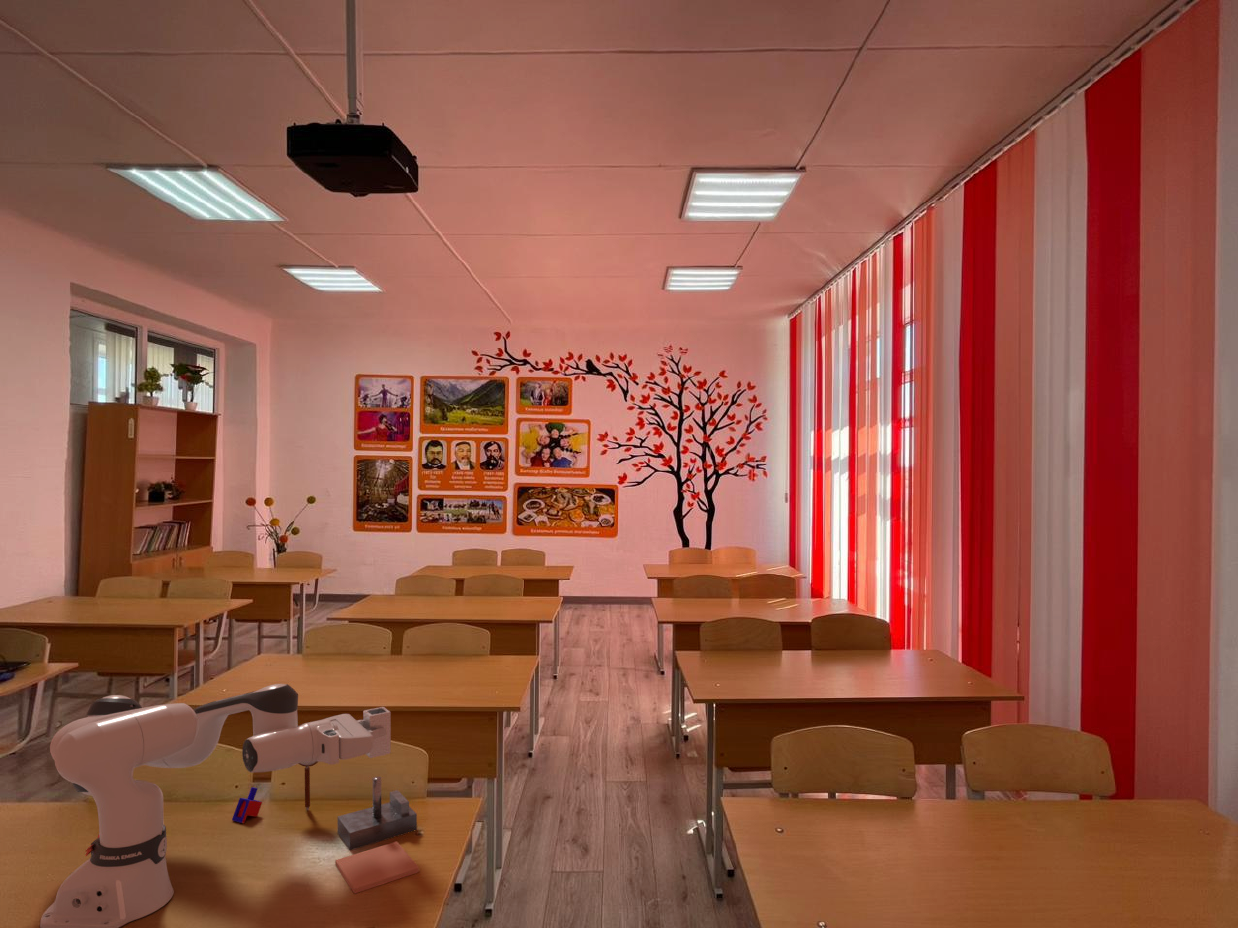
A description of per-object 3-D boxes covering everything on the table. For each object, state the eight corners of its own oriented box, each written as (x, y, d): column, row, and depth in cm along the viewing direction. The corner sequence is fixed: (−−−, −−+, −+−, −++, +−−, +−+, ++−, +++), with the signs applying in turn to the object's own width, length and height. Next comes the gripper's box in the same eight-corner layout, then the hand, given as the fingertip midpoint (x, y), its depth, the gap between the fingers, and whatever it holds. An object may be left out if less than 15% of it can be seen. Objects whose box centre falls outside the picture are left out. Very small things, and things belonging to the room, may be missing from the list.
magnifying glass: (290, 810, 197) (289, 733, 197) (294, 807, 198) (293, 730, 198) (321, 812, 195) (320, 734, 195) (324, 809, 197) (324, 732, 197)
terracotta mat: (354, 893, 159) (354, 888, 159) (335, 864, 171) (335, 859, 171) (419, 871, 167) (419, 867, 167) (396, 845, 179) (396, 841, 179)
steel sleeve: (369, 757, 182) (369, 716, 182) (363, 751, 186) (363, 710, 186) (390, 753, 185) (390, 712, 185) (383, 746, 189) (383, 706, 189)
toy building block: (254, 823, 193) (266, 790, 196) (241, 822, 190) (253, 788, 193) (244, 821, 195) (256, 787, 198) (231, 819, 191) (244, 785, 194)
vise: (350, 850, 177) (349, 794, 177) (337, 832, 185) (337, 779, 185) (416, 829, 186) (416, 776, 186) (402, 814, 194) (401, 763, 194)
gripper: (310, 739, 186) (367, 727, 194) (333, 767, 170) (395, 752, 178) (309, 713, 186) (366, 702, 194) (333, 739, 170) (394, 725, 178)
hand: (380, 726), depth 186 cm, fingers closed on steel sleeve, 5 cm apart
